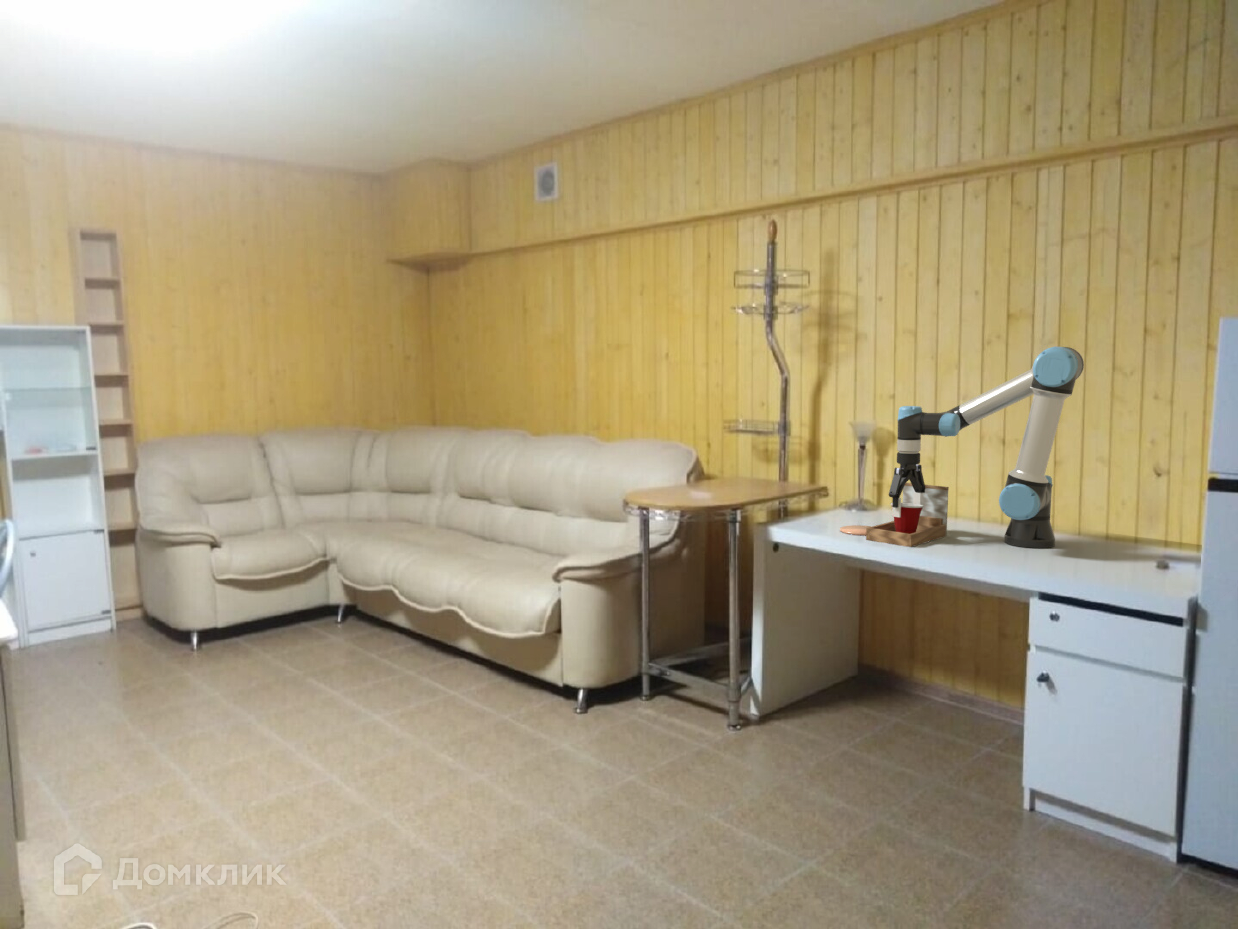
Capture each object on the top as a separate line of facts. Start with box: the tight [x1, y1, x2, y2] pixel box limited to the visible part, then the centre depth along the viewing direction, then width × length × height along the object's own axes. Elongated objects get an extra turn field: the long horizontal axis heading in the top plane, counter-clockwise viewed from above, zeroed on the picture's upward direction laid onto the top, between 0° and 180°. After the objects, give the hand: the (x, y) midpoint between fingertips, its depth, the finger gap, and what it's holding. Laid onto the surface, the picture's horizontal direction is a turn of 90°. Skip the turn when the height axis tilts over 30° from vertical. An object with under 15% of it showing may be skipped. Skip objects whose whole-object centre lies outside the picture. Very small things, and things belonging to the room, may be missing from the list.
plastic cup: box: [889, 502, 924, 534], centre depth 300 cm, size 11×11×12 cm
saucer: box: [839, 524, 872, 537], centre depth 312 cm, size 14×14×1 cm
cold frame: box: [865, 481, 949, 548], centre depth 300 cm, size 16×24×17 cm
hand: (906, 514), depth 299 cm, fingers open, 13 cm apart
